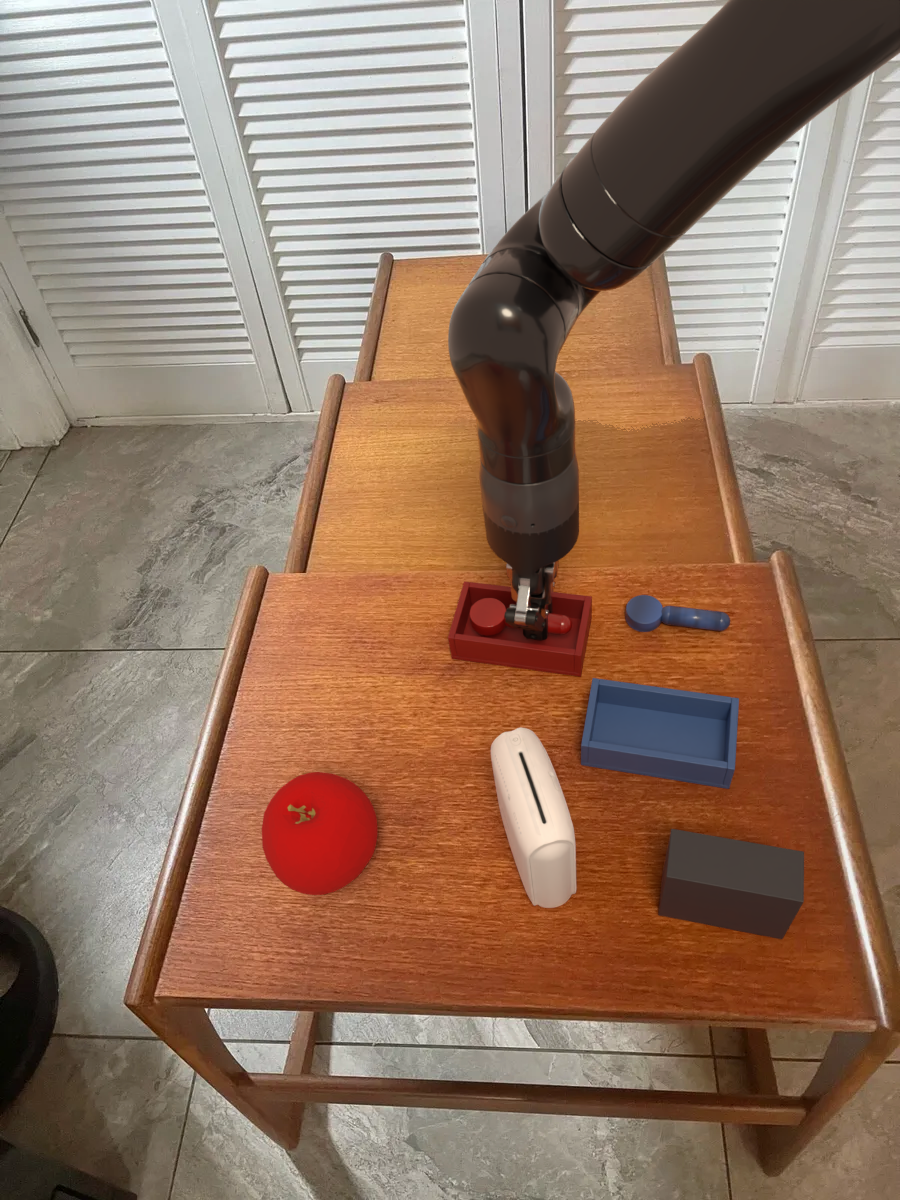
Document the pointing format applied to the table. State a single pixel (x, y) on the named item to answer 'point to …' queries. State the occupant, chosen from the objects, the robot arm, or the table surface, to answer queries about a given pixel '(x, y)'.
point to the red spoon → (491, 618)
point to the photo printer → (535, 817)
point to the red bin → (511, 644)
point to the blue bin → (661, 732)
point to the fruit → (319, 833)
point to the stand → (731, 883)
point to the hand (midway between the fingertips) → (538, 625)
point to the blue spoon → (671, 616)
